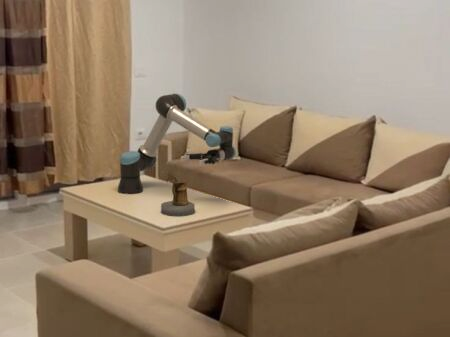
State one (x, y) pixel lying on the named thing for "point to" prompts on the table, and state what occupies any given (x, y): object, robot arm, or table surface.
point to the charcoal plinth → (177, 209)
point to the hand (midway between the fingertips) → (190, 161)
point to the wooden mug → (178, 192)
